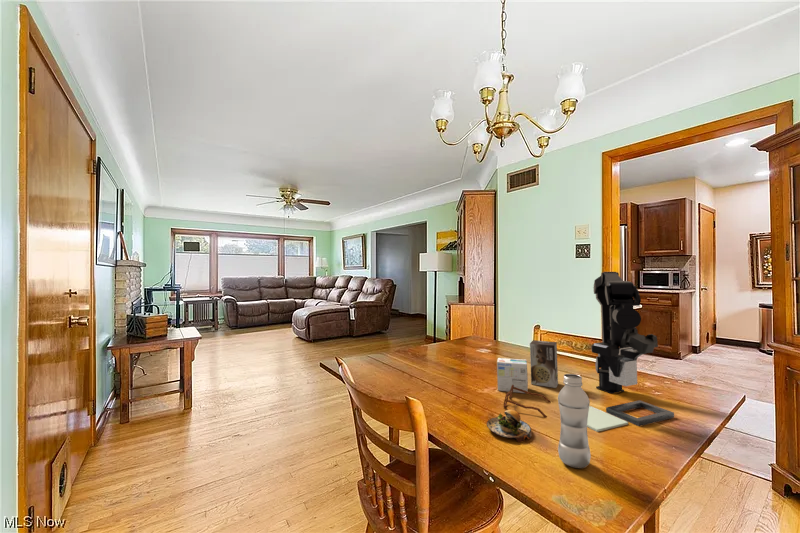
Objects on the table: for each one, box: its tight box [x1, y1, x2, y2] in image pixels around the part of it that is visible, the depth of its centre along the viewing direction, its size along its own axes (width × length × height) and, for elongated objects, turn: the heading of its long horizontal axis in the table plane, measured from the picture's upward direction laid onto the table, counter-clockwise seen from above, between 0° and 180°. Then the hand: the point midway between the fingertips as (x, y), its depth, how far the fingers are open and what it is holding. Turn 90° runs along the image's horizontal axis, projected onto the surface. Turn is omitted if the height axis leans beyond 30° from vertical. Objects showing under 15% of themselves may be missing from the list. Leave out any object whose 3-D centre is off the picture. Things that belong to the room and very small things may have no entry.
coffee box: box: [529, 339, 559, 389], centre depth 128 cm, size 9×6×16 cm
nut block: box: [609, 357, 638, 387], centre depth 99 cm, size 5×5×7 cm
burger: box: [486, 404, 533, 443], centre depth 91 cm, size 12×12×8 cm
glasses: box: [503, 385, 552, 418], centre depth 108 cm, size 13×13×5 cm
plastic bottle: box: [557, 373, 592, 469], centre depth 75 cm, size 6×7×20 cm
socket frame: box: [605, 399, 675, 427], centre depth 100 cm, size 10×15×2 cm, turn 110°
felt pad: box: [587, 405, 629, 433], centre depth 98 cm, size 12×12×1 cm
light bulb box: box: [496, 357, 529, 394], centre depth 123 cm, size 11×7×11 cm, turn 71°
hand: (622, 375), depth 99 cm, fingers closed on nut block, 5 cm apart
